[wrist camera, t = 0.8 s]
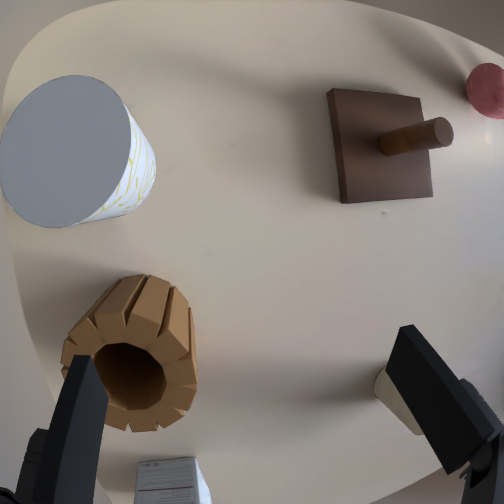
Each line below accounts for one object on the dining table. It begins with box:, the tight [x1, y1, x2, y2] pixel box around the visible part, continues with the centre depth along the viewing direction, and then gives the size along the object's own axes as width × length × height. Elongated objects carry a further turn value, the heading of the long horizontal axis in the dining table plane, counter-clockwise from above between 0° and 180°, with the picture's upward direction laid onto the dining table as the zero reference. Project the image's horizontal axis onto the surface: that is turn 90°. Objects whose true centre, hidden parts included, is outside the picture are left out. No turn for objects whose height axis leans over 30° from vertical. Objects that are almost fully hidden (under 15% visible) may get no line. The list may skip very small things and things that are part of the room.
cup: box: [0, 75, 156, 228], centre depth 19 cm, size 8×8×12 cm
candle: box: [374, 367, 424, 435], centre depth 29 cm, size 6×6×10 cm
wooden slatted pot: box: [60, 274, 198, 432], centre depth 22 cm, size 9×9×10 cm
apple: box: [466, 63, 504, 119], centre depth 27 cm, size 7×7×8 cm
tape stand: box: [327, 88, 454, 204], centre depth 25 cm, size 11×11×10 cm
